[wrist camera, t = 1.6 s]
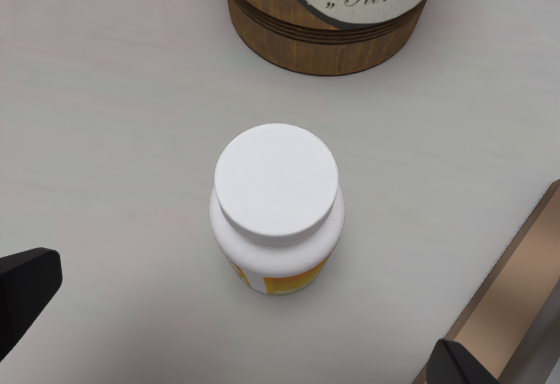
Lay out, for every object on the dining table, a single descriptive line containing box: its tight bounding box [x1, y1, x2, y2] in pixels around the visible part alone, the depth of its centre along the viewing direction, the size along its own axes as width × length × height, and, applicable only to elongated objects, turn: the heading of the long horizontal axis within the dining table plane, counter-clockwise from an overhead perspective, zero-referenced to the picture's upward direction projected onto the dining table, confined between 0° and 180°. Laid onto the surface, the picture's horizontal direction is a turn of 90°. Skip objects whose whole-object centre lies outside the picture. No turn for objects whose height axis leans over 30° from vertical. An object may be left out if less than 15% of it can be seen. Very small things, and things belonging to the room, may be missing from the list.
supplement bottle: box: [209, 124, 345, 295], centre depth 15 cm, size 5×5×10 cm
